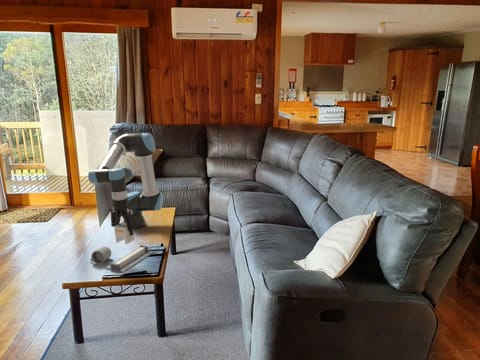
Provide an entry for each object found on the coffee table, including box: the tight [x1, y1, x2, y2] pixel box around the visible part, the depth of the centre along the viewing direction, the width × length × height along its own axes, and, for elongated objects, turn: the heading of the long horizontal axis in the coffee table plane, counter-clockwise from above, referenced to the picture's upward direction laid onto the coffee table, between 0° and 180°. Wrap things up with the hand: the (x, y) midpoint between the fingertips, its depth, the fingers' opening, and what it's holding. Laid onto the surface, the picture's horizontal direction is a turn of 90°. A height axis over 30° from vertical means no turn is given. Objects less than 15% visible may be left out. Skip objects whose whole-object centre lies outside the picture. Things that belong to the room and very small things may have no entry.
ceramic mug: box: [89, 246, 112, 265], centre depth 188 cm, size 11×8×8 cm
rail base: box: [105, 244, 154, 273], centre depth 188 cm, size 24×12×4 cm, turn 156°
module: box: [113, 221, 135, 245], centre depth 182 cm, size 6×7×10 cm
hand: (125, 240), depth 183 cm, fingers closed on module, 7 cm apart
